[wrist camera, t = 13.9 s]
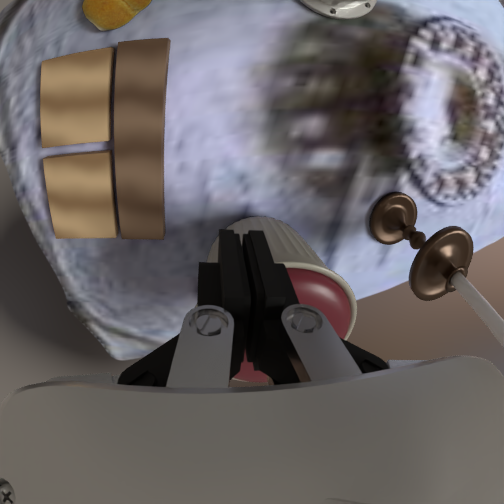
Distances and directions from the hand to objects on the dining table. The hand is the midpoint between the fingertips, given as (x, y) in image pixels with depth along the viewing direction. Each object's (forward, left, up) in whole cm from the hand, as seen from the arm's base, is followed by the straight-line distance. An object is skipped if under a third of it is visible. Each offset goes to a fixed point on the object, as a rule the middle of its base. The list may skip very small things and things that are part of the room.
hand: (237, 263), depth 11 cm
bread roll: (-19, -14, -28) cm, 37 cm away
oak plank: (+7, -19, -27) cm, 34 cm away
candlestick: (+9, +28, -27) cm, 40 cm away
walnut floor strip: (0, -10, -27) cm, 29 cm away
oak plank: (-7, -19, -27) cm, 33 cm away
